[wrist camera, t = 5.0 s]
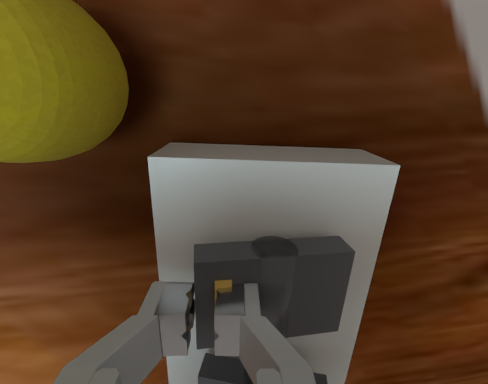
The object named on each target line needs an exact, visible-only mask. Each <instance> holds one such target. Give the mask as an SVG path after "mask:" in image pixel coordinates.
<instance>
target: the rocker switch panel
mask: <svg viewBox="0 0 488 384" xmlns="http://www.w3.org/2000/svg"><path fill="white" fill-rule="evenodd" d="M148 168H149V179H150V189H151V200H152V211H153V221H154V232H155V242H156V253H157V264H158V274H159V281H163V282H168V281H170V282H194V244H206V243H223V242H240V241H254V240H256V239H257V238H260V237H264V236H278V237H282V238H285V239H291V238H308V237H324V236H340V237H341V238H342V239H343V240H344V241H345V242H346V243H347V244H348V245H349V246H350V247H351V248H352V249H353V250H354V251H355V256H354V261H353V265H352V270H351V274H350V279H349V283H348V288H347V292H346V297H345V302H344V306H343V311H342V315H341V320H340V324H339V329H338V331H335V332H327V333H320V334H312V335H304V336H297V337H289V338H286V340H287V341H288V342H289V343H290V344H291V345H292V346H293V348H294V349H295V350H296V351H297V352H298V353H299V354H300V355H301V356H302V358H303V359H304V360H305V361H306V362H307V363H308V364H309V365H310V366H311V367H312V371H313V372H314V373H319V374H325V375H326V376H327V383H328V384H345V380H346V376H347V372H348V368H349V365H350V361H351V357H352V353H353V349H354V345H355V341H356V337H357V333H358V329H359V325H360V322H361V318H362V314H363V310H364V306H365V302H366V298H367V294H368V290H369V286H370V283H371V279H372V275H373V271H374V267H375V263H376V259H377V255H378V251H379V247H380V243H381V240H382V236H383V232H384V228H385V224H386V220H387V216H388V212H389V208H390V204H391V200H392V197H393V193H394V189H395V185H396V181H397V177H398V173H399V169H400V165H398V164H396V163H393V162H391V161H389V160H386V159H384V158H381V157H379V156H377V155H374V154H372V153H369V152H367V151H364V150H362V149H343V148H315V147H287V146H259V145H230V144H202V143H174V142H170V143H169V144H167V145H166V146H164V147H162V148H161V149H159V150H158V151H156V152H154V153H153V154H151V155H150V156H148ZM193 298H194V299H195V292H194V297H193ZM205 353H210V354H215V347H213V348H205V349H198V350H197V345H196V317H195V319H194V325H193V328H192V329H191V340H190V345H189V350H188V355H187V356H166V359H167V370H168V381H169V384H198V374H199V371H200V368H201V365H202V361H203V358H204V355H205ZM226 357H232V358H237V359H239V356H226Z"/></svg>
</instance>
